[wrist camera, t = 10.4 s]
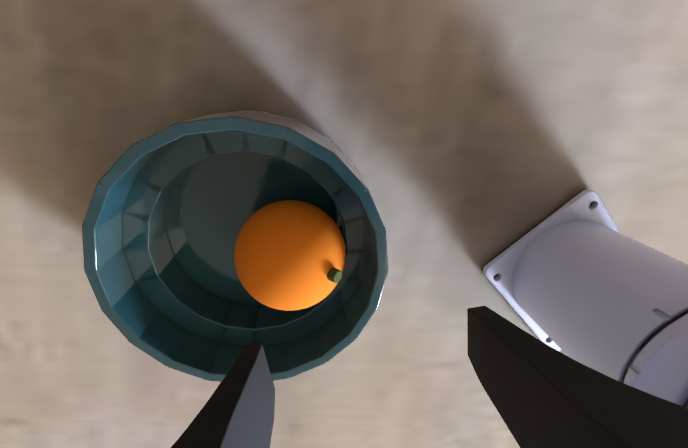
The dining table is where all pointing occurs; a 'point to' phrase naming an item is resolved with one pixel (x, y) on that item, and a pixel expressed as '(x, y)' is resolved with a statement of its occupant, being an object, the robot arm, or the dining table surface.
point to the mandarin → (290, 255)
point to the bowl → (226, 243)
